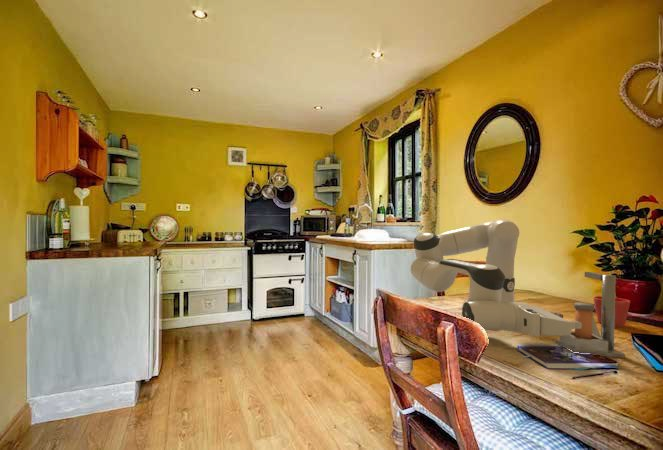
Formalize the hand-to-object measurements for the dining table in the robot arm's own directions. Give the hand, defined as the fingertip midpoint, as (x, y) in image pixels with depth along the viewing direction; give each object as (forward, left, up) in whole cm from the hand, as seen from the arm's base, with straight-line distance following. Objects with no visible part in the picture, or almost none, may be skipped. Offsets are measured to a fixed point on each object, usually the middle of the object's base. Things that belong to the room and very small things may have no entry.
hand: (570, 320), depth 100 cm
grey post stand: (0, +6, -8) cm, 10 cm away
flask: (-8, +20, -9) cm, 23 cm away
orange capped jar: (+1, +3, -7) cm, 8 cm away
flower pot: (-14, +44, -9) cm, 47 cm away
